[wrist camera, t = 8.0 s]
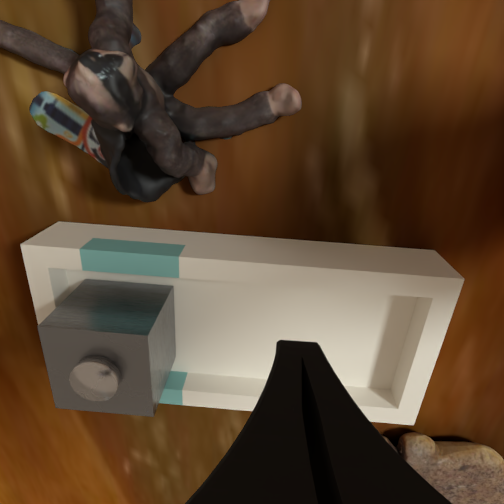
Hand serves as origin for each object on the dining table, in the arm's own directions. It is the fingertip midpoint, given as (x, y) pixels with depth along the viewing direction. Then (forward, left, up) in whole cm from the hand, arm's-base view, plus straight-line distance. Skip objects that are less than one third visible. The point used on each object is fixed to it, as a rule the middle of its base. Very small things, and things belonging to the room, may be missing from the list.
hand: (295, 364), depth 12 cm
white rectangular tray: (+3, +6, -10) cm, 12 cm away
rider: (+9, +4, -8) cm, 13 cm away
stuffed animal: (+8, -8, -10) cm, 16 cm away
